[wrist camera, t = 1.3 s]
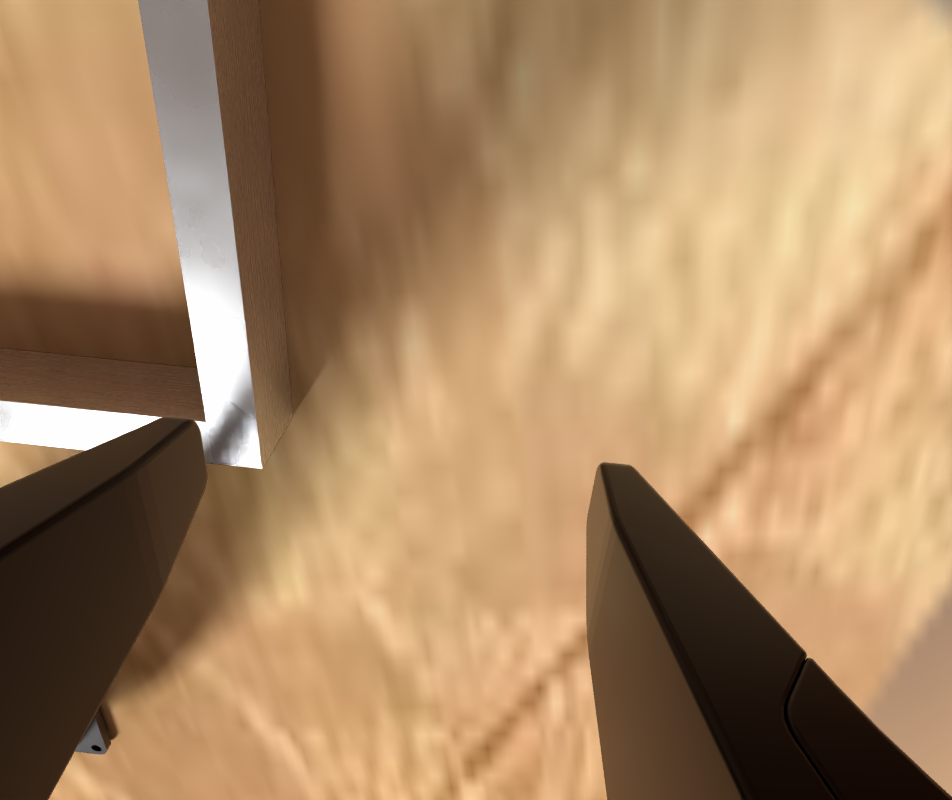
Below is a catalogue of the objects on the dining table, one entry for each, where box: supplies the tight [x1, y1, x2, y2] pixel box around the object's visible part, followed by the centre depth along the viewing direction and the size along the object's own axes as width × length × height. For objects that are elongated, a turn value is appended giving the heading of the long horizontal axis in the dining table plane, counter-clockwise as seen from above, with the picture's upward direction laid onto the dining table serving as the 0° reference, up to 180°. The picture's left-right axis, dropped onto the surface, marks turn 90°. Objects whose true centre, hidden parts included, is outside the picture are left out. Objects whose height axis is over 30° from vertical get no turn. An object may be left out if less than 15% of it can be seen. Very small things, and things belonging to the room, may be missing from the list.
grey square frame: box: [0, 0, 293, 469], centre depth 18 cm, size 14×15×3 cm
